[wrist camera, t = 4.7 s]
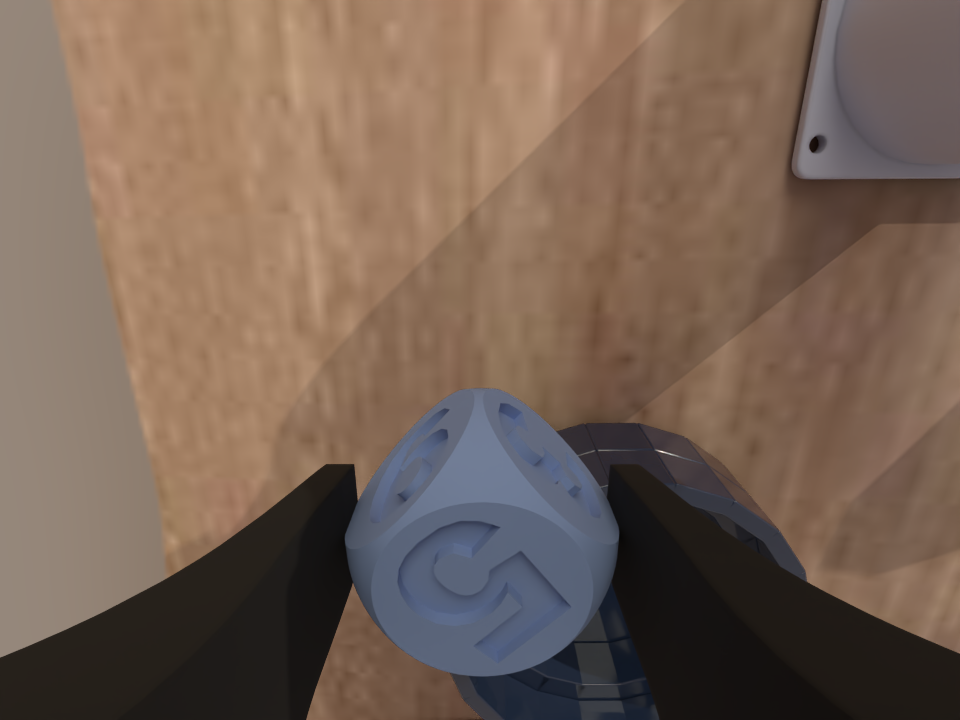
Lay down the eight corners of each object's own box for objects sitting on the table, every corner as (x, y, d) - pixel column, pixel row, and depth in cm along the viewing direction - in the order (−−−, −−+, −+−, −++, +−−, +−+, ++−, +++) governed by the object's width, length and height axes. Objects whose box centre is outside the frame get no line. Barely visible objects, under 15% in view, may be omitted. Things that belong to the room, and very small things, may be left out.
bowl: (446, 417, 19) (436, 485, 15) (769, 415, 19) (850, 482, 15) (453, 656, 23) (448, 763, 19) (719, 655, 23) (772, 760, 19)
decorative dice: (483, 561, 13) (485, 712, 10) (365, 470, 12) (316, 598, 9) (597, 466, 12) (648, 592, 9) (479, 360, 12) (478, 450, 8)
